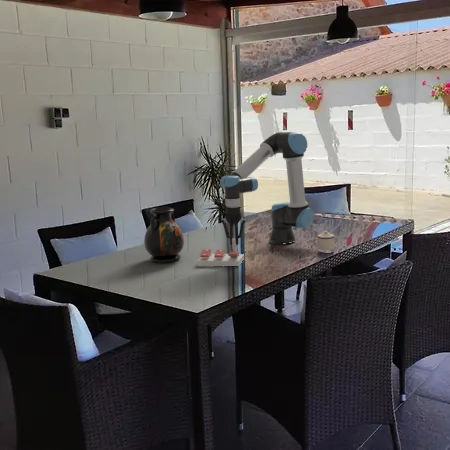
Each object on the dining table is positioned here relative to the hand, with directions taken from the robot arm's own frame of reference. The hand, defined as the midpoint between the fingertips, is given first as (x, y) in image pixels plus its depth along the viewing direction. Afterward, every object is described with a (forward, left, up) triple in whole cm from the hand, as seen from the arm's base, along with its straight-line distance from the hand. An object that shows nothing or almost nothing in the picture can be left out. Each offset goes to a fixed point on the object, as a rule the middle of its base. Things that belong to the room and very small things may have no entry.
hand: (234, 250), depth 305 cm
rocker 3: (0, +4, -3) cm, 5 cm away
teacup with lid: (-44, -25, -7) cm, 51 cm away
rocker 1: (+15, +3, -3) cm, 15 cm away
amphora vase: (+39, -2, -7) cm, 40 cm away
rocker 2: (+7, +3, -3) cm, 8 cm away
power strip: (+7, +2, -6) cm, 10 cm away
